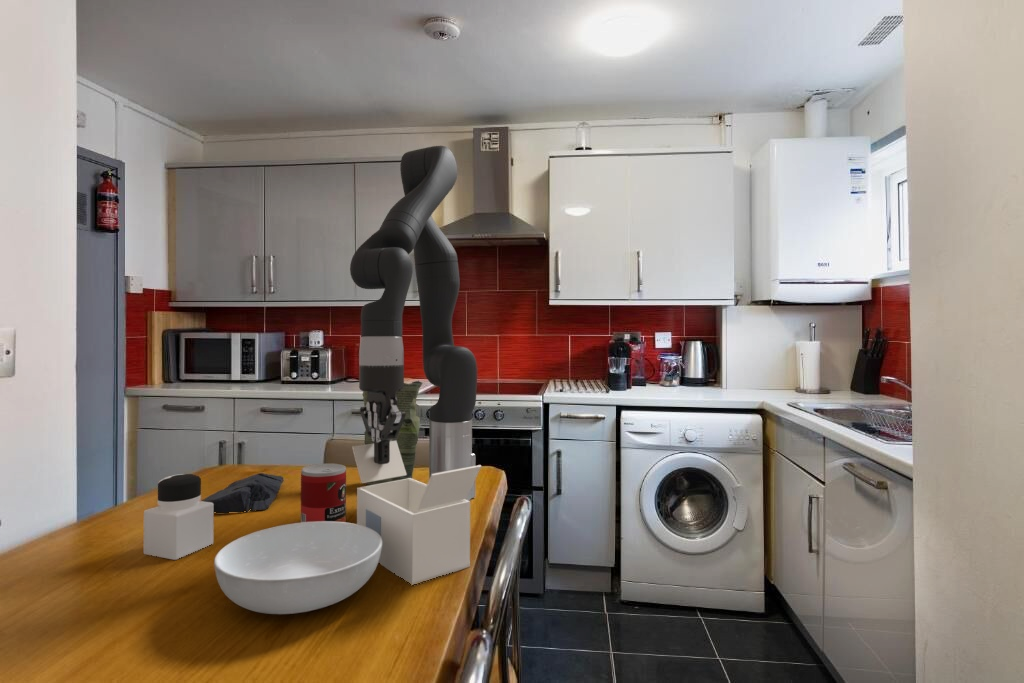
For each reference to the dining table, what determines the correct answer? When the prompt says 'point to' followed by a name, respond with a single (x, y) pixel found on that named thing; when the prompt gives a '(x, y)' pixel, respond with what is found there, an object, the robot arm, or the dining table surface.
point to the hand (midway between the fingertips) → (381, 463)
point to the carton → (415, 530)
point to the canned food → (323, 493)
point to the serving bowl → (297, 566)
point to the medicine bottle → (178, 519)
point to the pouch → (404, 429)
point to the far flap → (376, 471)
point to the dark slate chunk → (247, 494)
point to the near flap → (448, 486)
